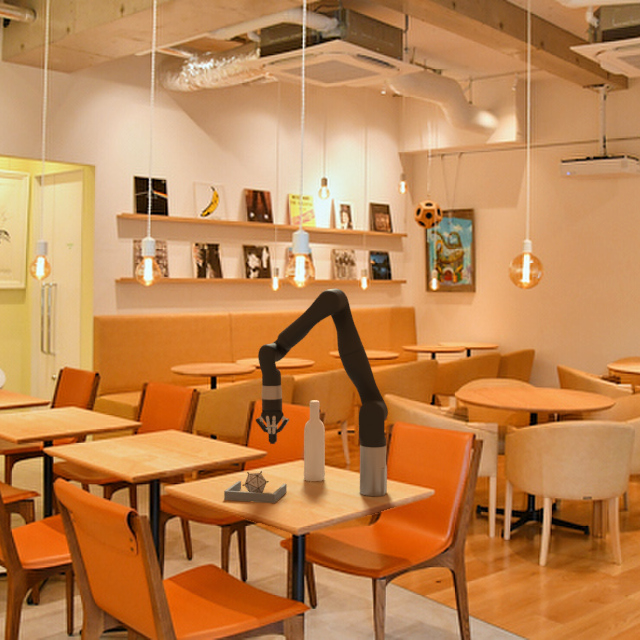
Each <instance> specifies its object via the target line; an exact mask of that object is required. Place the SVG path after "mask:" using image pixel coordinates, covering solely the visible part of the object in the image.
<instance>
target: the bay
mask: <svg viewBox="0 0 640 640" xmlns="http://www.w3.org/2000/svg"><path fill="white" fill-rule="evenodd" d="M287 487H288V486H287V483H283V484H282V485H281V486H279V488H278V489H276V490H275V491H274V492H273V493H271V492H269V493H268V492H263V493H256V492H249V491H240V490H242V480H238V481H236V482H235V483H233V484H232V485H230V486H229V487H228V488H227V489H226V490H224V493H223V494H224V499H223V501H234V502H235V501H236V502H249V501H253V503H264V504H265V503H267V504H275V503H276V504H277V502H278V501H279V500H280V499H281V498H282V497H283V496H284V495H285V494H286V493H287Z"/></svg>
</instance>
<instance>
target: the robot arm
mask: <svg viewBox="0 0 640 640" xmlns="http://www.w3.org/2000/svg"><path fill="white" fill-rule="evenodd" d="M330 316H331V319H332V321H333V324H334V327H335V330H336V341H337V352H338V355H339V358H340V361H341V363H342V366H343V369H344V371H345V373H346V374H347V376H348V378H349V379H350V380H351V382H352V384H353V385H354V387H355V388H356V391H357V393H358V396H359V399H360V403H361V406H360V409H359V411H358V437H359V493H360V495H362V496H367V497H378V496H381V497H382V496H383V497H385V495H386V494H387V491H388V484H387V483H388V466H387V437H386V435H385V432H386V430H385V428H386V427H385V422H386V420H387V418H388V414H389V410H388V409H389V408H388V406H387V404H386V402H385V399H384V398H383V395H382V393H381V392H380V390H379V388H378V385H377V383H376V379H375V376H374V374H373V369H372V366H371V364H370V361H369V357H368V355H367V353H366V350H365V347H364V345H363V342H362V340H361V339H362V338H361V336H360V334H359V332H358V329H357V326H356V324H355V322H354V318H353V314H352V309H351V306H350V303H349V300H348V296H347V294H346V293H345V292H344V291H343V290H342V289H339V288H330V289H326V290H323V291H322V292H321V293H320V294H319V295H317V297H316V298H315V300H314V301H313V302H312V303H311V305H310V306H308V308H307V309H306V310H305V311H304V312H303V313H302V314H301V315H300V316H298V317H297V319H295V320H294V321H293V322H291V324H289V325H288V326H287V327H286V328H284V329H283V330H282V331H281V332H279V334H278V336H277V339H276V340H275V341H273V342H272V343H265V344H263V345H261V346H260V348H259V350H258V356H257V358H258V363H259V367H260V371H261V375H262V376H261V379H262V380H261V382H262V383H261V385H262V386H261V413H260V416H259V417H257V418H255V422H256V424H257V425H258V426H259V427H260V429H261V430H262V431H263V433H267V434H268V443H269V444H270V445H275V444H276V443H277V442H278V434H279V433H281V432H282V430H283V429H284V428H285V427H286V425H287V424H288V423H289V422H290V419H289V418H288V417H286V416H285V415H284V412H283V390H282V389H283V388H282V373H281V370H280V369H277V363H276V362H279V361H281V360H283V358H284V357H286V356H287V355H288V353H289V352H290V351H291V349H292V348H294V347H295V346H296V345H298V344H299V343H300V342H301V341H303V339H305V338H306V336H307V335H308V334H309V333H310V331H312V329H313V328H314V327H315V326H316V325H318V324H319V323H320V322H322V321H323V320H324V319H326V318H328V317H330ZM280 422H281V424H280V426H279V423H280Z"/></svg>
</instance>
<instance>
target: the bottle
mask: <svg viewBox="0 0 640 640" xmlns="http://www.w3.org/2000/svg"><path fill="white" fill-rule="evenodd" d="M320 405H321V404H320V401H319V400H316V399H315V400H314V399H313V400H310V401H309V420H307V422H305V425H304V429H303V431H304V433H303V446H304V447H303V449H304V450H303V480H304V479H305V480H307V481H306V482H309V481H320V482H323V481H325V476H326V471H325V468H326V467H325V464H326V463H325V461H326V460H325V459H326V458H325V457H326V456H325V455H326V453H325V451H326V449H325V447H326V446H325V445H326V443H325V441H326V440H325V439H326V435H325V434H326V431H325V430H326V428H325V425H324V423H323V421H322V420H321V419H320V407H321V406H320ZM305 480H304V481H305ZM322 480H323V481H322Z"/></svg>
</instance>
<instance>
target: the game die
mask: <svg viewBox="0 0 640 640" xmlns="http://www.w3.org/2000/svg"><path fill="white" fill-rule="evenodd" d="M262 473H263V471H262V470H260V472H255V473H250V472H249V471H247V473H246V474H248V475H247V477H246V479H245V481H244V483H243V484H242V486H243V487H244V486H245V488H246V490H247V492H256V493H264V490H265V487H266V485H267V483H269V480H266V478H265V477H264V475H263V474H262Z"/></svg>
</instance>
